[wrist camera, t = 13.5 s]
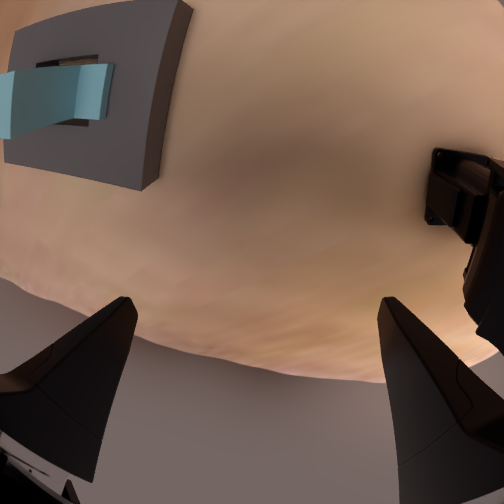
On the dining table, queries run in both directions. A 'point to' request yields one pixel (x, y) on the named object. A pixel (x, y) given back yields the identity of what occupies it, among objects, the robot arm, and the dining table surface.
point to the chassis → (120, 94)
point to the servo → (52, 96)
